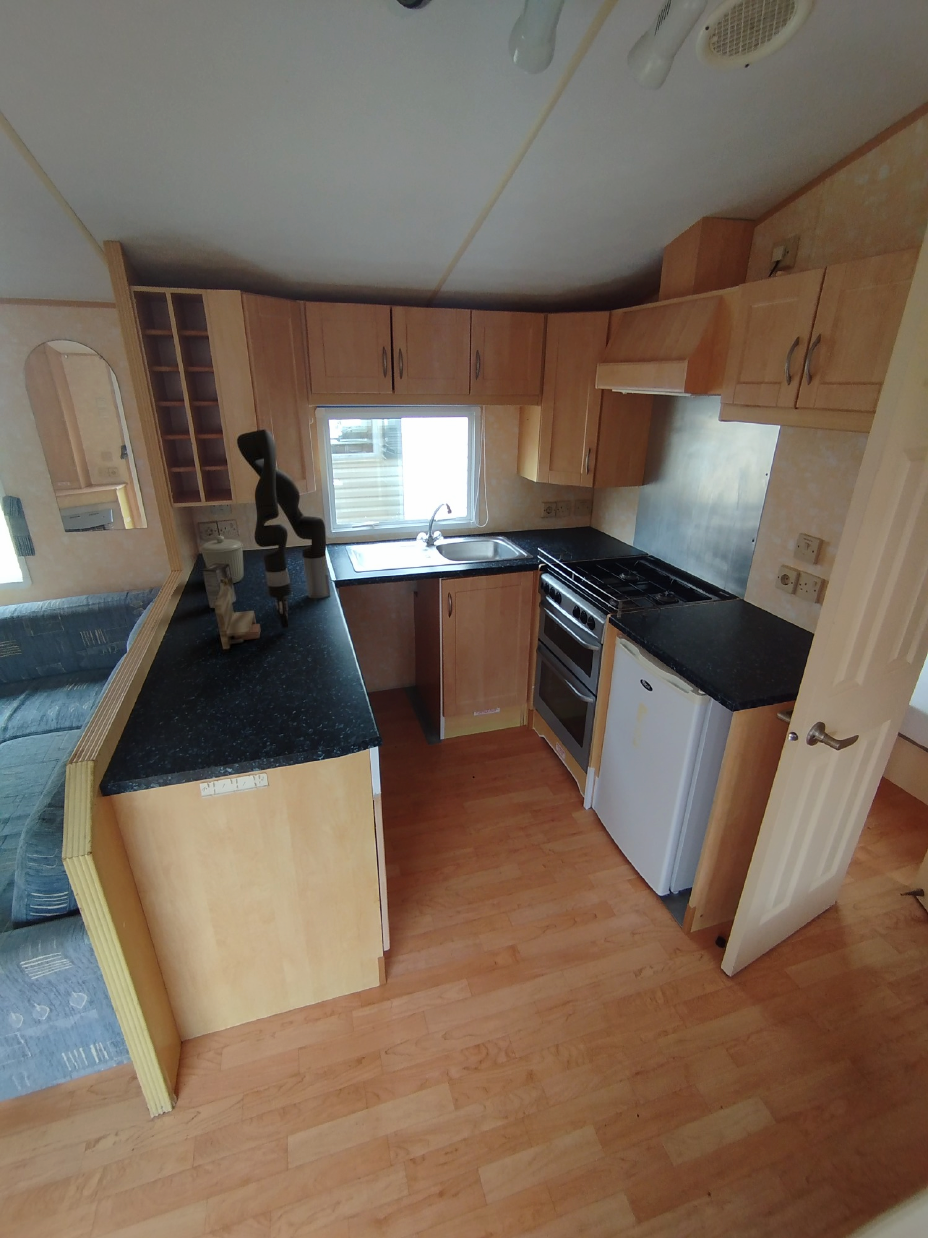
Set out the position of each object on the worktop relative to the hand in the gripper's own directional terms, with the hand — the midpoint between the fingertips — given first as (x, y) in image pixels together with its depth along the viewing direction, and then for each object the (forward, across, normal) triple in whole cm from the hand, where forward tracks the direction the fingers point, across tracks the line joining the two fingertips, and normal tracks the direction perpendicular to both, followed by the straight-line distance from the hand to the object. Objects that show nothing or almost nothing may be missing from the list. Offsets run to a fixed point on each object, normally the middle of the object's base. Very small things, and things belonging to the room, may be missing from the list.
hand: (285, 627), depth 200 cm
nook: (+1, 0, +16) cm, 16 cm away
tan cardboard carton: (+2, 0, +13) cm, 13 cm away
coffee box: (+2, +35, +26) cm, 44 cm away
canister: (+2, +65, +28) cm, 71 cm away
